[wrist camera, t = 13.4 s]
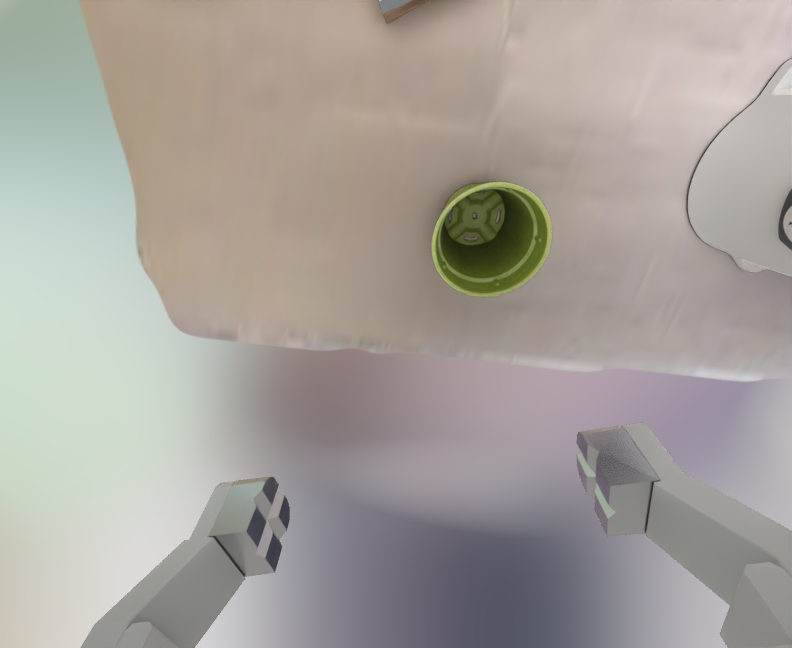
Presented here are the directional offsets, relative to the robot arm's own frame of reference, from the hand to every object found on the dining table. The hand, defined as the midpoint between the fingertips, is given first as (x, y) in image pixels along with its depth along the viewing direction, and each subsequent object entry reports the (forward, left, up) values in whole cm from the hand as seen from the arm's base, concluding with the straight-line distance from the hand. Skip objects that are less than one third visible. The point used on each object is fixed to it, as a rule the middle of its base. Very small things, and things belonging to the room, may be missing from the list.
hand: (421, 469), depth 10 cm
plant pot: (-6, +3, -31) cm, 32 cm away
